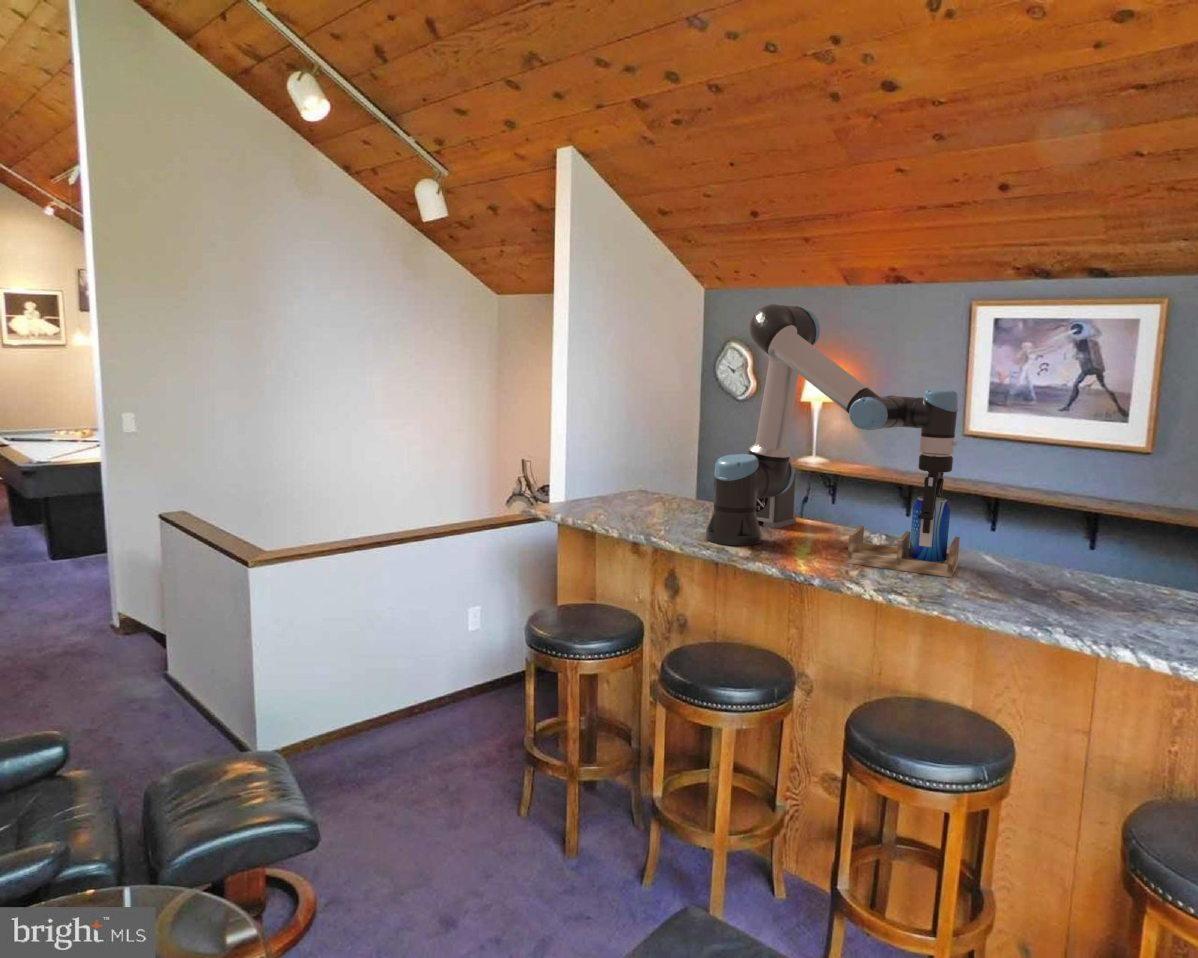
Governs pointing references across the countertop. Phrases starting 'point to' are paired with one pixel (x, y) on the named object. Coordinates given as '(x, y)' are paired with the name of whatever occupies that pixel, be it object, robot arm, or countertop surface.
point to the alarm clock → (777, 509)
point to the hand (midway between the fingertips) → (929, 540)
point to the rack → (898, 555)
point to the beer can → (939, 533)
